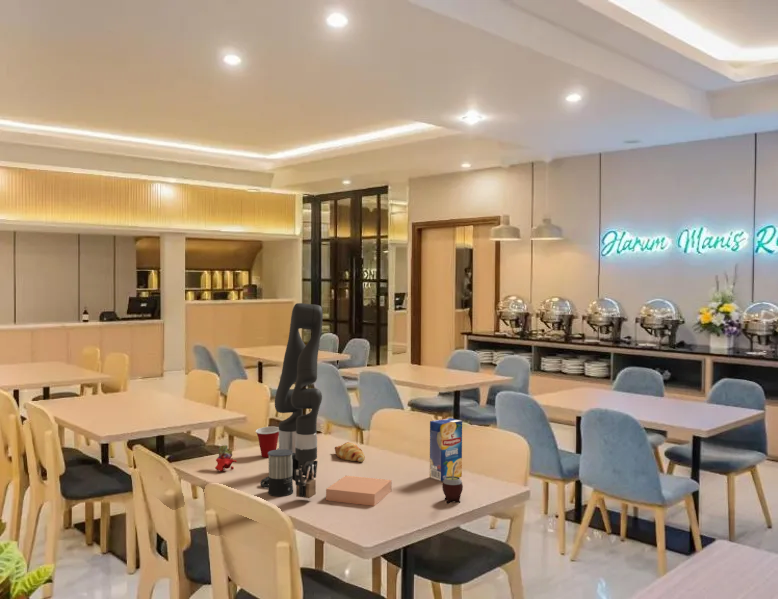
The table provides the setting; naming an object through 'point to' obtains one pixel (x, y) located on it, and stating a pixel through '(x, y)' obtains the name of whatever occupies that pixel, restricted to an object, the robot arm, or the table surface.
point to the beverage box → (445, 448)
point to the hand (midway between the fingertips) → (305, 493)
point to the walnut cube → (308, 488)
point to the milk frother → (280, 472)
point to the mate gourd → (452, 488)
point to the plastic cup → (267, 439)
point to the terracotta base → (359, 490)
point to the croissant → (350, 452)
